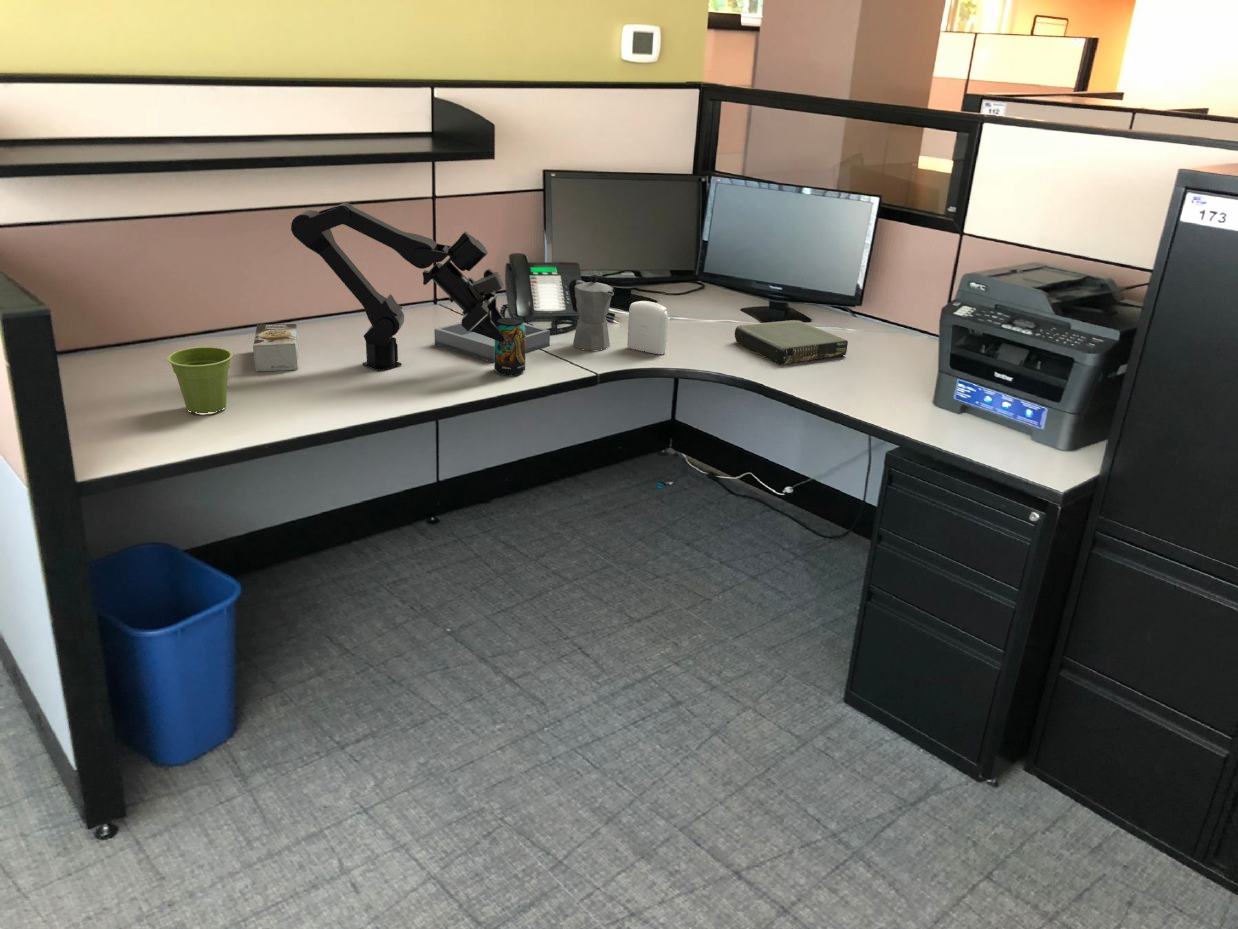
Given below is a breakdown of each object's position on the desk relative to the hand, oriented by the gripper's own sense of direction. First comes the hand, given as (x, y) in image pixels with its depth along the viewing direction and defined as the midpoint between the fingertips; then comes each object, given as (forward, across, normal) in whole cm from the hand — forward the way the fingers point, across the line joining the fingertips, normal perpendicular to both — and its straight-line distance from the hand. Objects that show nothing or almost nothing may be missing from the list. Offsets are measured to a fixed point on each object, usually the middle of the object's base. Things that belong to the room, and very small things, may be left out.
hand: (505, 335), depth 229 cm
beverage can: (+7, 0, +6) cm, 9 cm away
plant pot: (-34, -33, +46) cm, 66 cm away
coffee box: (-32, -8, +39) cm, 51 cm away
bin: (+2, +20, +10) cm, 22 cm away
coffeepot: (+20, +24, -7) cm, 32 cm away
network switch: (+57, +28, -43) cm, 76 cm away
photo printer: (+30, +22, -17) cm, 41 cm away
